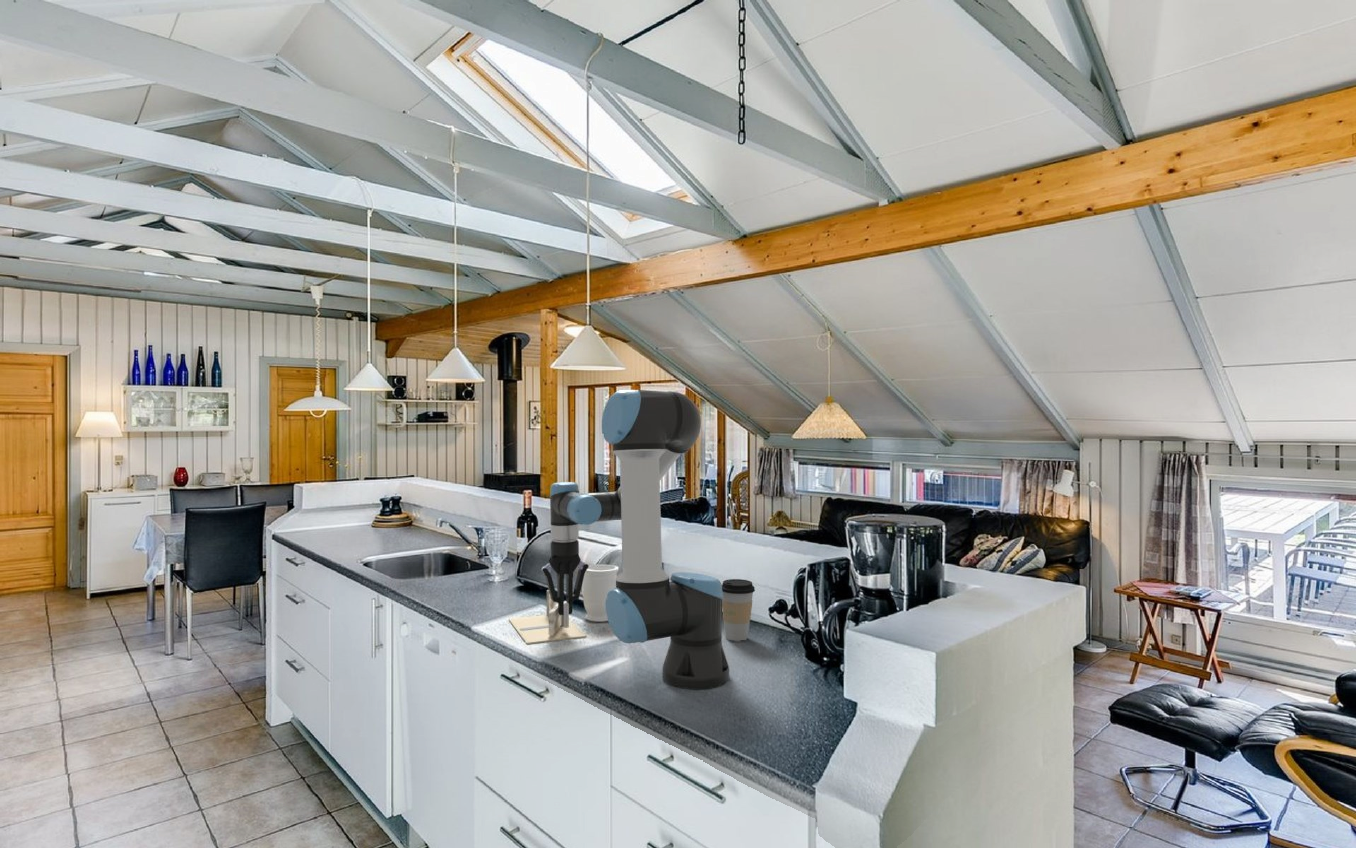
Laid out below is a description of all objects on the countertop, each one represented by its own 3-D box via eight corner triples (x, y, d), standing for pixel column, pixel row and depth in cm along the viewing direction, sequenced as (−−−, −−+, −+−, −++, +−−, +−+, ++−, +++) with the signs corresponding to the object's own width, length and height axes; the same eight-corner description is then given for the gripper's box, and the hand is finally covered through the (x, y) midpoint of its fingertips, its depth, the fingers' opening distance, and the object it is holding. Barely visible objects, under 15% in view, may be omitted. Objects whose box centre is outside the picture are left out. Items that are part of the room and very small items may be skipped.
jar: (620, 614, 210) (621, 564, 210) (614, 624, 200) (615, 571, 200) (586, 613, 211) (586, 563, 211) (578, 622, 201) (578, 570, 201)
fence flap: (554, 635, 185) (554, 609, 185) (547, 635, 185) (547, 609, 185) (564, 622, 197) (564, 598, 197) (557, 622, 197) (558, 598, 197)
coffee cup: (713, 640, 186) (714, 583, 186) (727, 631, 194) (728, 577, 194) (746, 645, 181) (747, 587, 181) (759, 636, 190) (760, 581, 190)
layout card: (586, 637, 187) (586, 635, 187) (526, 644, 180) (526, 642, 180) (562, 614, 209) (562, 612, 209) (508, 620, 202) (508, 618, 202)
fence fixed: (565, 626, 196) (565, 600, 196) (557, 627, 195) (557, 601, 195) (553, 613, 208) (553, 589, 208) (545, 614, 207) (545, 590, 207)
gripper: (583, 535, 195) (584, 619, 195) (538, 539, 190) (538, 625, 190) (591, 540, 188) (592, 627, 189) (544, 543, 183) (545, 633, 183)
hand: (565, 626), depth 189 cm, fingers closed
